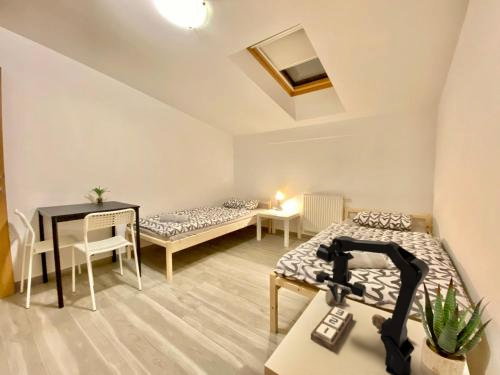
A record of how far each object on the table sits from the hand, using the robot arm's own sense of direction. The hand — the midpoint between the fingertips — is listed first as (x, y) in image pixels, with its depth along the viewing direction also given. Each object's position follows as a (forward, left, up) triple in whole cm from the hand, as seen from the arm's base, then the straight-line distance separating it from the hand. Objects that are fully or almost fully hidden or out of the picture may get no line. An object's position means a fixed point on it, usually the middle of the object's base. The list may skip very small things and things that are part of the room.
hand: (339, 302), depth 91 cm
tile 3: (+2, -8, -10) cm, 13 cm away
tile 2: (+2, 0, -11) cm, 11 cm away
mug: (+8, -20, -13) cm, 25 cm away
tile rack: (+2, 0, -12) cm, 13 cm away
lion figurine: (-17, -11, -13) cm, 24 cm away
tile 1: (+2, +8, -11) cm, 13 cm away
